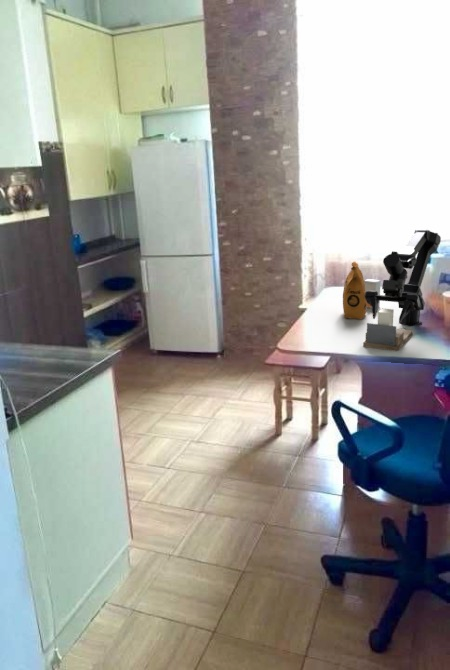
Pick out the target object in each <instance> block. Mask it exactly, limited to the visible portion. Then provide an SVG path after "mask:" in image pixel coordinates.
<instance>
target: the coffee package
mask: <svg viewBox="0 0 450 670" xmlns="http://www.w3.org/2000/svg"><path fill="white" fill-rule="evenodd" d="M365 292H366V290H365V284H364V275H363V272H362V270H361V269H360V267H359V264H358V263H357V262H356V261H353V262H351V268H350V271H349V273H348V275H346V277H345V280H344V286H343V292H342V309H343V315H344V318H345V319H351V320H353V319H357V320H363V319H364V318H365V316H366V314H367V307H366V299H365Z"/></svg>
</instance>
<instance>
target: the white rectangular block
mask: <svg viewBox="0 0 450 670" xmlns="http://www.w3.org/2000/svg"><path fill="white" fill-rule="evenodd" d="M377 324H380V325H389V326H394V309H392V308H381V309H380V310H379V311H377Z"/></svg>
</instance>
